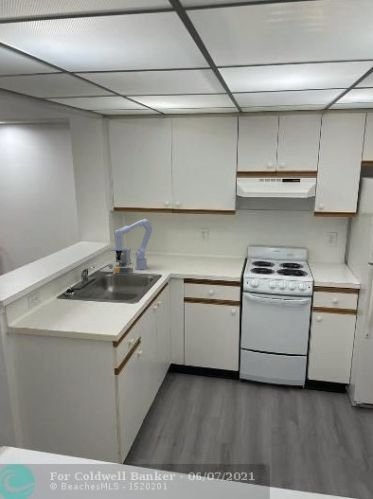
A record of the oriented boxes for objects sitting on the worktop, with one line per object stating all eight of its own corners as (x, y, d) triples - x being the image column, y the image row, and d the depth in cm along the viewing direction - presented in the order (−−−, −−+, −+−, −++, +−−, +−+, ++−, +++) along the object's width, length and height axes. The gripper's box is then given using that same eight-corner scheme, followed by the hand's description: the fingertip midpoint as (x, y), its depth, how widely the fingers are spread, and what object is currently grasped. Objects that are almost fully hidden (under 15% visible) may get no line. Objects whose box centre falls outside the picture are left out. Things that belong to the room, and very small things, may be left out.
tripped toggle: (119, 272, 298) (119, 267, 297) (119, 273, 295) (118, 268, 294) (115, 272, 298) (114, 267, 297) (114, 273, 295) (114, 268, 294)
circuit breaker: (114, 266, 322) (114, 250, 318) (124, 262, 334) (124, 247, 331) (121, 267, 318) (120, 251, 315) (131, 263, 331) (130, 248, 327)
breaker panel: (133, 269, 314) (132, 264, 313) (132, 275, 296) (132, 270, 295) (114, 269, 312) (114, 264, 311) (112, 275, 294) (112, 270, 293)
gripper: (127, 242, 310) (127, 257, 313) (110, 242, 308) (111, 258, 311) (127, 244, 303) (127, 259, 306) (109, 244, 301) (110, 260, 304)
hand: (119, 259), depth 308 cm, fingers closed
